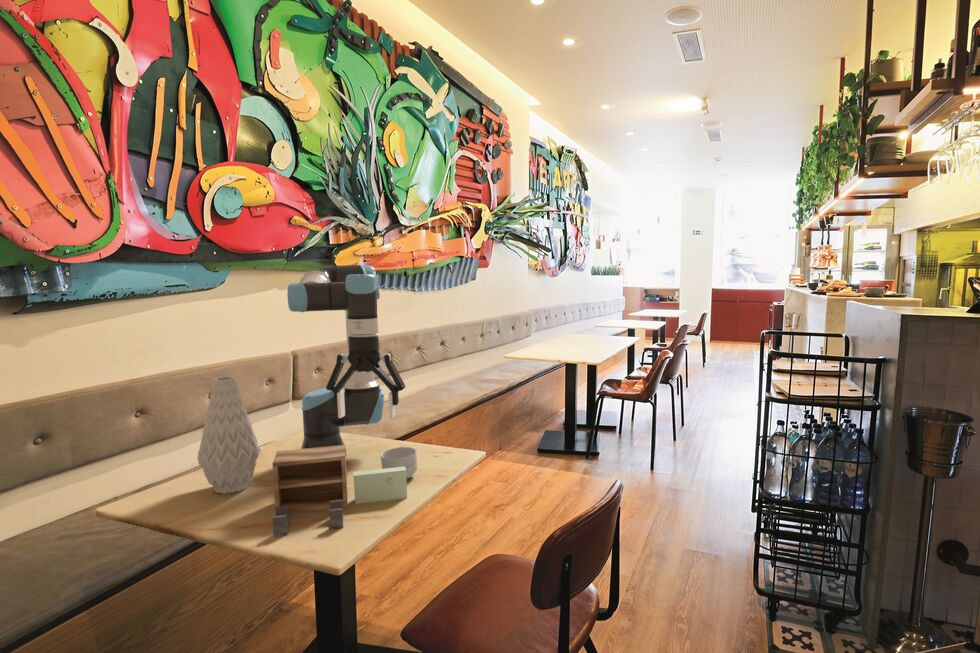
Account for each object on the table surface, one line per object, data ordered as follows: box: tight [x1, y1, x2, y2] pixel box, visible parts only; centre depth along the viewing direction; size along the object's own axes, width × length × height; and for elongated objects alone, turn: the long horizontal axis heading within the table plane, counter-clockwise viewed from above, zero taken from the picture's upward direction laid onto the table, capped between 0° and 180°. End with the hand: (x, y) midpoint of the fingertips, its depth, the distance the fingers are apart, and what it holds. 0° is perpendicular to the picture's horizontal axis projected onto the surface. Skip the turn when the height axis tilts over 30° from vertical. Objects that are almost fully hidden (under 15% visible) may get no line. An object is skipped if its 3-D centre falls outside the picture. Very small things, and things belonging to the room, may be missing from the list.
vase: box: [197, 376, 261, 495], centre depth 161 cm, size 17×17×33 cm
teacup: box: [380, 445, 418, 480], centre depth 170 cm, size 14×11×8 cm
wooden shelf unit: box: [272, 444, 348, 537], centre depth 144 cm, size 22×18×14 cm
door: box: [353, 467, 408, 505], centre depth 152 cm, size 4×14×8 cm, turn 104°
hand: (367, 417), depth 143 cm, fingers open, 13 cm apart
